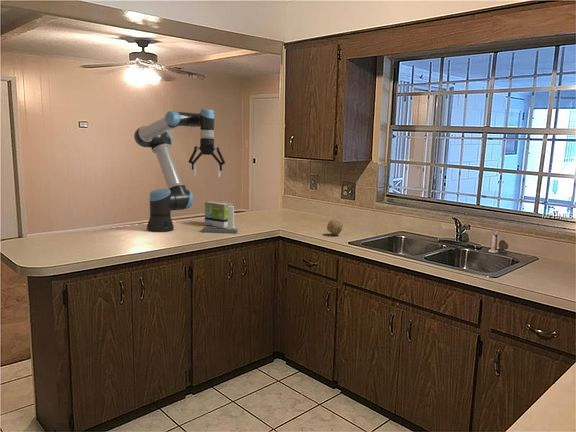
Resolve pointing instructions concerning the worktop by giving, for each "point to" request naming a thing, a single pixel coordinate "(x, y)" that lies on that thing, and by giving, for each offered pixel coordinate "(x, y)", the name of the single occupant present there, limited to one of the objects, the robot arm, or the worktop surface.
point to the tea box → (217, 213)
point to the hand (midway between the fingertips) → (206, 176)
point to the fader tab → (230, 218)
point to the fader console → (219, 230)
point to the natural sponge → (335, 226)
